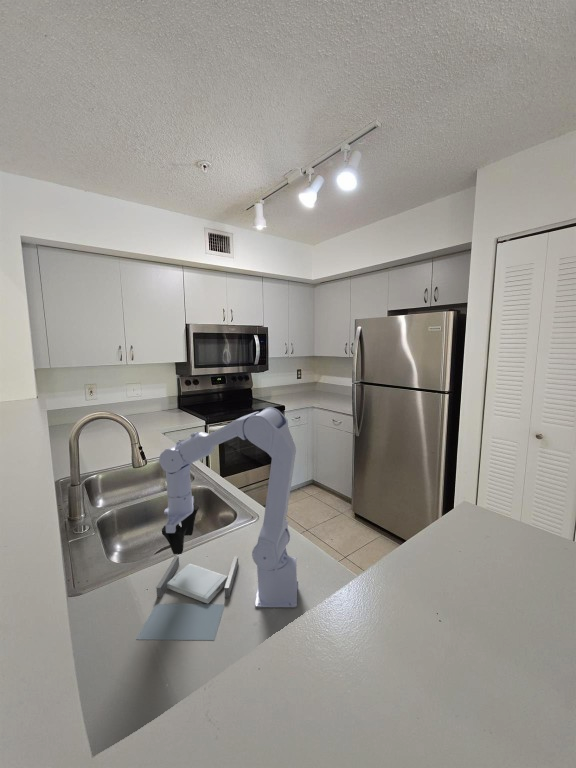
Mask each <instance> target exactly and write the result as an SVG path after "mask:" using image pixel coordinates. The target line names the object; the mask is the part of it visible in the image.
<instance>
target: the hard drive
mask: <svg viewBox="0 0 576 768" xmlns="http://www.w3.org/2000/svg"><path fill="white" fill-rule="evenodd" d="M227 578H228V575H226V574H222V573H219V572H217V571H213V570H211V569H208V568H205V567H202V566H199V565H196V564H192V563H188V564H187V565H186V566H184V567H183V568H182V569H181V570H180V571H179V572H178V573H176V574H175V575H173V577H172V579H171V580H170V581H169V582H168V583H167V588H166V589H168V590H171V591H173V592H175V593H178V594H181V595H184V596H187V597H189V598H192V599H195V600H197V601H198V602H199V601H200V602H202V603H204V604H210V602H211V601H212V600H213V599H214V598H215V597H216V596H217V595H218V594H219V592H221V590H222V589H223V588H225V584H226V581H227Z"/></svg>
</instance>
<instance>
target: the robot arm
mask: <svg viewBox="0 0 576 768" xmlns="http://www.w3.org/2000/svg"><path fill="white" fill-rule="evenodd" d="M236 437H238V438H240V439H241V440H243V441H245V440H248V441H249V442H250V443H251V444H253V445H255V446H256V447H257V448H259V449H261V450H262V451H263V452H265V453H267V454H268V455H269V457H270V458H271V460H270V461H271V462H270V464H271V465H270V471H269V477H268V478H269V479H268V483H267V493H266V499H265V501H266V502H265V509H264V516H263V522H262V526H261V529H260V531H259V534H258V537H257V543H256V544H255V545H254V546H253V549H252V552H251V557H252V560H253V563H254V564H255V565H256V567H257V568H256V569H257V572H256V573H257V588H256V589H257V590H256V594H255V602H254V607H255V608H297V607H298V606H297V605H298V604H297V603H298V591H299V581H298V574H297V571H298V570H297V569H298V568H297V566H298V565H297V557H294V556H290V555H288V551H287V546H288V544H289V542H290V540H291V534H290V530H289V521H288V520H287V516H288V509H289V501H290V496H291V488H292V482H293V481H292V480H293V475H294V474H293V473H294V466H295V462H296V461H295V458H296V453H297V447H296V444H295V441H294V439H293V436H292V434H291V430H290V428H289V421H288V419H287V417H286V416H285V415H284V414H283V413H282V412H281V411H280V410H279V409H277V408H275V407H272V406H271V407H270V406H269V407H266V408H265V407H264V408H263V409H262V410H261V411H254V412H252V413H249V414H245V415H243V416H241V417H239V418H236V419H235V420H233V421H231V422H229V423H227V424H226V425H224V426H222V427H220V428H218V429H216V430H215V431H212V432H211V433H207V432H204V431H200V432H199V431H196V432H194V433H192V434H191V433H190V437H188V438H186V439H185V440H182V439H181V440H179V441H177V442H176V443H175V445H173V446H171V447H168V448H166V449H164V450H163V451H162V452H161V453H160V455H159V460H158V461H159V465H160V467H161V469H162V470H163V471H164V472H165V481H166V495H167V507H166V508H165V509H164V511H163V514H164V515H167V521H166V524H165V525H164V526H163V527H162V528H161V535H162V536H164V537H165V539H166V540H167V542H168V544H169V546H170V549H171V551H172V554H173V555H182V554H183V551H184V545H185V544H184V542H185V536H188V537H189V536H192V535H193V533H194V527H195V521H196V516H197V514H198V510H199V509H200V506H199V505H196V504H194V503H195V498H194V497H195V496H194V495H193V494H192V481H191V469H192V467H191V465H192V464H193V463H195V462H197V461H199V460H201V459H203V458H206V457H208V456H210V455H211V454H213V453H214V450H215V447H216V446H218V445H220V444H223V443H225V442H227V441H230V440H233V439H234V438H236Z"/></svg>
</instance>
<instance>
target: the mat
mask: <svg viewBox="0 0 576 768" xmlns="http://www.w3.org/2000/svg"><path fill="white" fill-rule="evenodd" d="M224 609H225V604H222V603H220V604H219V603H216V604H215V603H211V604H210V603H208V604H207V603H204V604H203V603H188V604H187V603H156V604H154V606H153V608H152V610H151V612H150V614H149V616H147V619H146V621H145V623H144V625H143V627H142V628H141V630H140V631H139V633H138V636H137V637H136V641H137V640H138V641H215V639H216V637H217V632H218V629H219V627H220V623H221V618H222V615H223V612H224Z"/></svg>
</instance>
